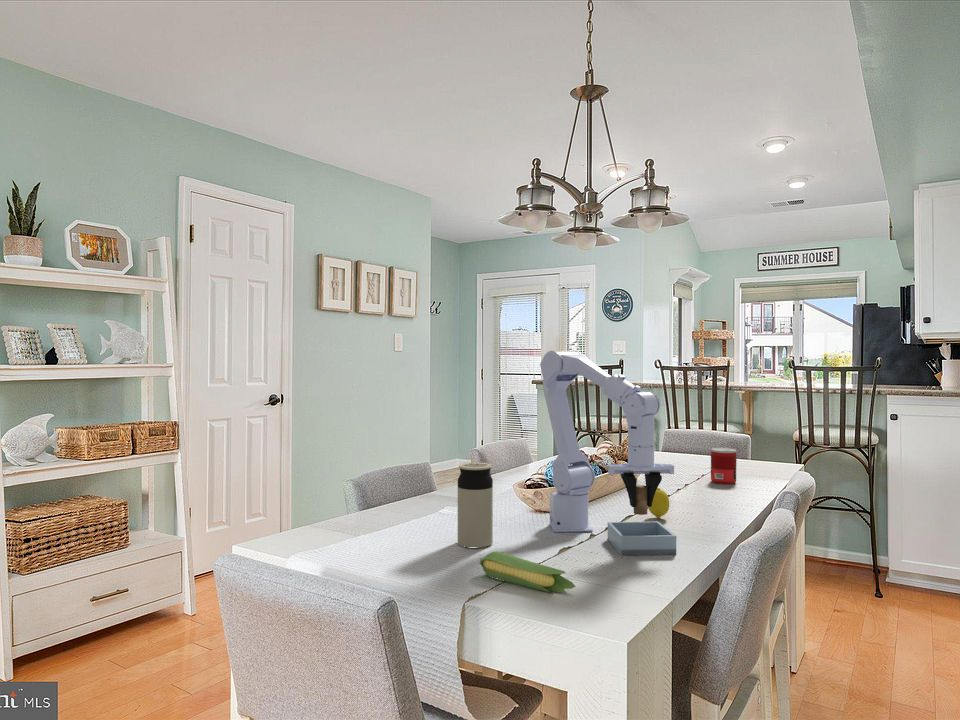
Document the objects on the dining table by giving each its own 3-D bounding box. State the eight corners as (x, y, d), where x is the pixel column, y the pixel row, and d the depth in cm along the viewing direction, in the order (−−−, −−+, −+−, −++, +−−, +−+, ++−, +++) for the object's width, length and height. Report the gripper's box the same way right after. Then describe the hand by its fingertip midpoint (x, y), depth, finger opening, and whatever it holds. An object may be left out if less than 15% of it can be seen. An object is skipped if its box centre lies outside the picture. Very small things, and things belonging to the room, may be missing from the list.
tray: (621, 555, 141) (621, 536, 141) (607, 539, 153) (607, 522, 153) (676, 554, 141) (676, 536, 141) (658, 538, 153) (658, 521, 153)
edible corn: (491, 548, 132) (478, 547, 128) (579, 572, 120) (567, 571, 116) (486, 574, 131) (473, 574, 127) (574, 601, 119) (562, 601, 115)
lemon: (670, 521, 168) (670, 490, 168) (647, 520, 169) (648, 489, 169) (668, 516, 174) (668, 486, 174) (646, 515, 175) (647, 485, 175)
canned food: (739, 484, 215) (740, 451, 214) (715, 484, 215) (715, 451, 215) (731, 480, 222) (731, 447, 222) (707, 479, 222) (707, 447, 222)
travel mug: (497, 547, 146) (497, 467, 146) (462, 550, 144) (462, 468, 144) (486, 537, 154) (486, 461, 154) (453, 540, 152) (453, 462, 151)
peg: (634, 514, 146) (634, 487, 146) (632, 511, 149) (633, 485, 149) (648, 514, 145) (648, 487, 145) (646, 511, 148) (646, 485, 148)
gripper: (613, 448, 142) (613, 510, 142) (679, 447, 143) (678, 509, 143) (605, 443, 149) (605, 503, 150) (668, 443, 150) (667, 502, 150)
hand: (640, 506), depth 147 cm, fingers closed on peg, 3 cm apart
